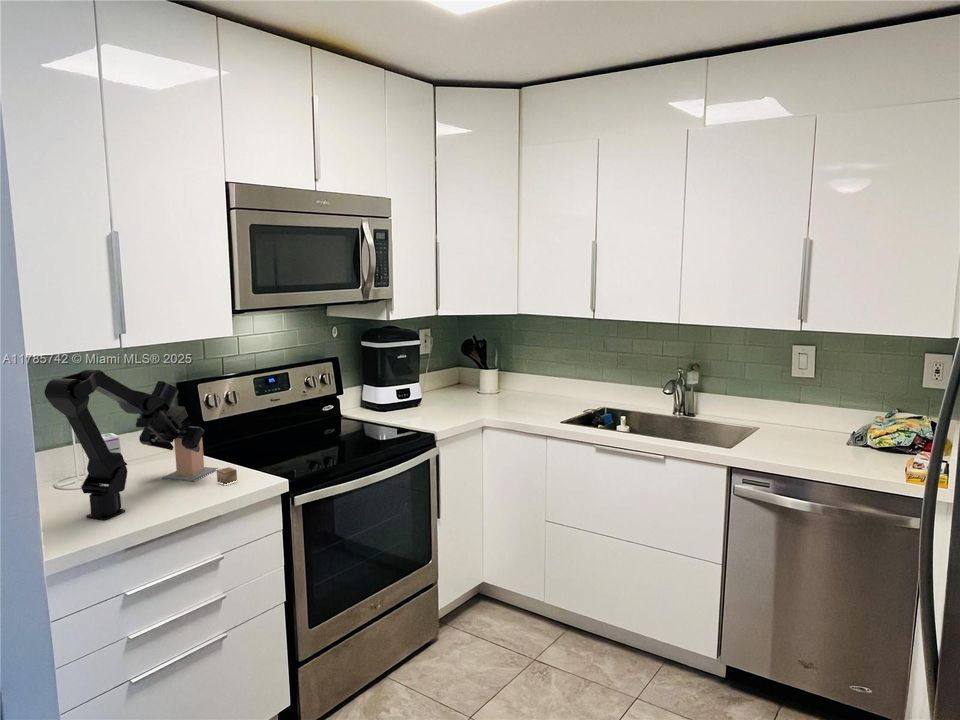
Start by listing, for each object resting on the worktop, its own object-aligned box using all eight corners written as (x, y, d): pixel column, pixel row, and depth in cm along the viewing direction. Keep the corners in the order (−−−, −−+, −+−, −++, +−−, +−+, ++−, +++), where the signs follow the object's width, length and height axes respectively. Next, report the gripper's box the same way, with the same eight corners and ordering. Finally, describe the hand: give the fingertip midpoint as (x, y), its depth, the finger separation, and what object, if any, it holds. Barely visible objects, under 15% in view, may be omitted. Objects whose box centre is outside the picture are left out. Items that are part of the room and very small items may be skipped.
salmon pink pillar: (192, 476, 203) (190, 437, 201) (176, 474, 204) (174, 436, 203) (204, 470, 209) (201, 433, 207) (188, 469, 210) (186, 432, 208)
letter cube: (224, 486, 196) (223, 473, 195) (217, 483, 198) (216, 470, 198) (237, 482, 199) (236, 469, 199) (229, 479, 202) (229, 467, 201)
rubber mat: (193, 481, 200) (193, 480, 200) (162, 479, 202) (161, 477, 202) (218, 469, 211) (218, 468, 211) (187, 467, 214) (187, 465, 214)
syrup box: (124, 482, 199) (120, 435, 197) (103, 487, 195) (98, 439, 192) (117, 478, 203) (113, 432, 201) (96, 483, 198) (91, 435, 196)
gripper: (198, 400, 194) (223, 428, 207) (143, 397, 199) (170, 425, 211) (182, 433, 188) (208, 460, 200) (125, 429, 192) (154, 456, 204)
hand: (185, 449), depth 204 cm, fingers open, 9 cm apart
